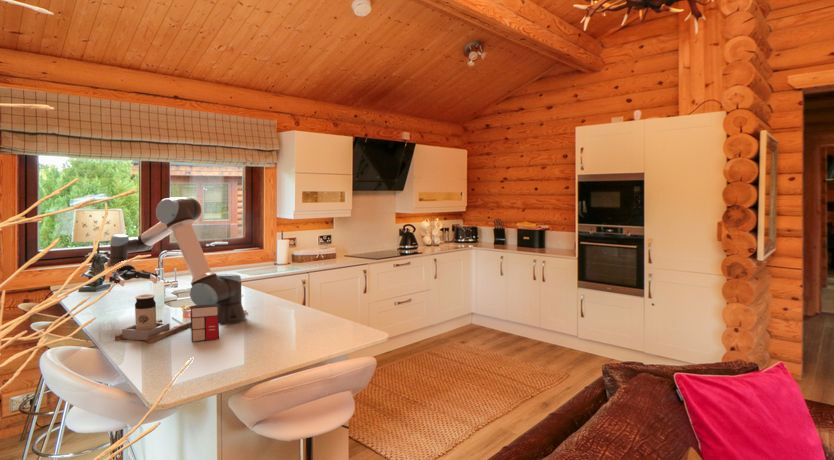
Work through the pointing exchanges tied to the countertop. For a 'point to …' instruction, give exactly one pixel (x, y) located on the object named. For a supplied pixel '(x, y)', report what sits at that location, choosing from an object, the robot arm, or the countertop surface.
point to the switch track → (161, 334)
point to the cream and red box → (204, 322)
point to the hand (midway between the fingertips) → (140, 281)
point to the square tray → (143, 331)
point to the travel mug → (145, 312)
